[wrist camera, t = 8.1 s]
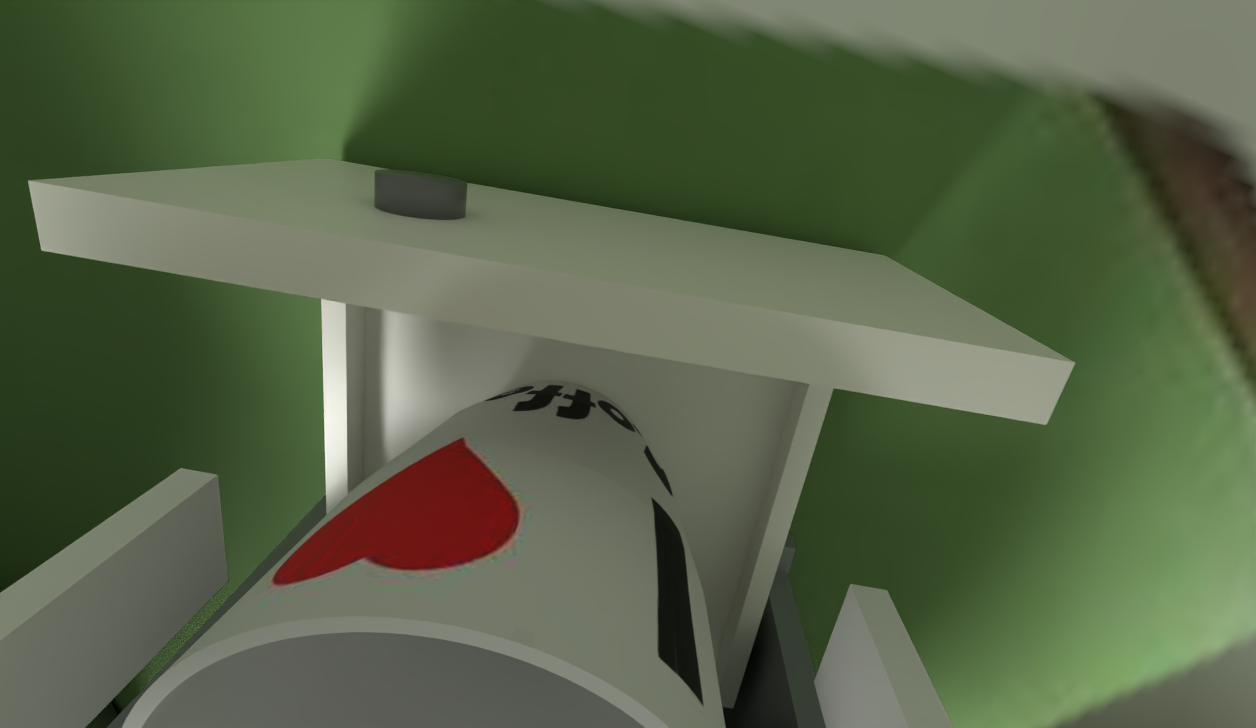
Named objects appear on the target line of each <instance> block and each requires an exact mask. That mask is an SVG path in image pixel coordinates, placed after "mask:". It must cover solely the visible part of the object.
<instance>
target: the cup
mask: <svg viewBox="0 0 1256 728" xmlns="http://www.w3.org/2000/svg"><path fill="white" fill-rule="evenodd" d="M122 728H726V727H725V721H724V714H723V708H722V702H721V696H720V690H719V683H718V677H717V671H716V665H715V659H714V652H713V646H712V640H711V634H710V627H709V621H708V615H707V609H706V603H705V598H704V593H703V589H702V586H701V583H700V579H699V576H698V573H697V570H696V567H695V563H694V560H693V557H692V554H691V551H690V547H689V544H688V541H687V538H686V535H685V531H684V528H683V525H682V522H681V519H680V515H679V512H678V509H677V506H676V503H675V499H674V496H673V493H672V490H671V487H670V484H669V481H668V479H667V476H666V474H665V472H664V470H663V468H662V466H661V465H660V463H659V461H658V460H657V458H656V457H655V455H654V454H653V452H652V450H651V449H650V447H649V446H648V444H647V443H646V441H645V440H644V438H643V437H642V435H641V434H640V432H639V430H638V429H637V427H636V426H635V424H634V423H633V421H632V420H631V419H630V418H629V416H628V415H627V414H626V413H625V412H624V411H623V410H622V409H621V408H620V407H619V406H618V405H617V404H615V403H614V402H613V401H611V400H610V399H608V398H607V397H605V396H604V395H602V394H600V393H598V392H596V391H594V390H591V389H589V388H586V387H583V386H580V385H576V384H572V383H566V382H538V383H532V384H528V385H524V386H521V387H519V388H516V389H513V390H511V391H508V392H505V393H503V394H500V395H497V396H495V397H492V398H490V399H487V400H484V401H482V402H479V403H476V404H474V405H472V406H469V407H467V408H465V409H463V410H462V411H460V412H458V413H457V414H455V415H453V416H452V417H451V418H449V419H448V420H447V421H445V422H444V423H442V424H441V425H440V426H438V427H437V428H436V429H434V430H433V431H431V432H430V433H429V434H427V435H426V436H425V437H423V438H422V439H420V440H419V441H418V442H416V443H415V444H414V445H412V446H411V447H410V448H408V449H407V450H405V451H404V452H403V453H401V454H400V455H399V456H397V457H396V458H394V459H393V460H392V461H390V462H389V463H388V464H386V465H385V466H384V467H382V468H381V469H379V470H378V471H377V472H375V473H374V474H373V475H371V476H370V477H368V478H367V479H366V480H364V481H363V482H362V483H360V484H359V485H358V486H357V487H355V488H354V489H353V490H352V491H351V492H350V493H349V494H348V495H347V496H346V497H345V498H344V499H342V500H341V501H340V502H339V503H338V504H337V505H336V506H335V507H334V508H333V509H332V510H331V511H330V512H329V513H328V514H327V515H326V516H325V517H324V518H323V519H322V520H321V521H320V522H319V523H318V524H317V525H316V526H315V527H314V528H313V529H312V530H311V531H310V532H309V533H307V534H306V535H305V536H304V537H303V538H302V539H301V540H300V541H299V542H298V543H297V544H296V545H295V546H294V547H293V548H292V549H291V550H290V551H289V552H288V553H287V554H286V555H285V556H284V557H283V558H282V559H281V560H280V561H279V562H278V563H277V564H276V565H275V566H274V567H272V568H271V569H270V570H269V571H268V572H267V573H266V574H265V575H264V576H263V577H262V578H261V579H260V580H259V581H258V582H257V583H256V584H255V585H254V586H253V587H252V588H251V589H250V590H249V591H248V592H247V593H246V594H245V595H244V596H243V597H242V598H241V599H240V600H239V601H237V602H236V603H235V604H234V605H233V606H232V607H231V608H230V609H229V610H228V611H227V612H226V613H225V614H224V615H223V616H222V617H221V618H220V619H219V620H218V621H217V622H216V623H215V624H214V625H213V626H212V627H211V628H210V629H209V630H208V631H207V632H206V633H205V634H204V635H202V636H201V637H200V638H199V639H198V640H197V641H196V642H195V643H194V644H193V645H192V646H191V647H190V648H189V649H188V650H187V651H186V652H185V653H184V654H183V655H182V656H181V657H180V658H179V659H178V660H177V661H176V662H175V663H174V664H173V665H172V666H171V667H170V668H169V669H168V670H166V671H165V672H164V673H163V674H162V675H161V676H160V677H159V678H158V679H157V680H156V681H155V682H154V683H153V684H152V685H151V686H150V687H149V688H148V689H147V690H146V691H145V693H144V694H143V695H142V696H141V697H140V699H139V700H138V701H137V703H136V704H135V705H134V707H133V708H132V710H131V711H130V713H129V715H128V717H127V718H126V720H125V722H124V724H123V726H122Z"/></svg>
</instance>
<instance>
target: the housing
mask: <svg viewBox="0 0 1256 728" xmlns="http://www.w3.org/2000/svg"><path fill="white" fill-rule="evenodd" d="M326 515H327V512H326V495H325V496H324V497H323V498H322V499H321V501H320V502H319V503H318V504H317V505H316V506H315V507H314V508H313V509H312V510H311V511H310V512H309V513H308V514H307V515H306V516H305V518H304V519H303V520H302V521H301V522H300V523H299V524H298V525H297V526H296V527H295V528H294V529H293V530H292V531H291V532H290V533H289V535H288V536H287V537H286V538H285V539H284V540H283V541H282V542H281V543H280V544H279V545H278V546H277V547H276V548H275V549H274V550H273V552H272V553H271V554H270V555H269V556H268V557H267V558H266V559H265V560H264V561H263V562H262V563H261V564H260V565H259V566H258V567H257V569H256V570H255V571H254V572H253V573H252V574H251V575H250V576H249V577H248V578H247V579H246V580H245V581H244V582H243V583H242V584H241V586H240V587H239V588H238V589H237V590H236V591H235V592H234V593H233V594H232V595H231V596H230V597H229V598H228V599H227V600H226V601H225V603H224V604H223V605H222V606H221V607H220V608H219V609H218V610H217V611H216V612H215V613H214V614H213V615H212V616H211V617H210V618H209V620H208V621H207V622H206V623H205V624H204V625H203V626H202V627H201V628H200V629H199V630H198V631H197V632H196V633H195V634H194V635H193V637H192V638H191V639H190V640H189V641H188V642H187V643H186V644H185V645H184V646H183V647H182V648H181V649H180V650H179V651H178V652H177V654H176V655H175V656H174V657H173V658H172V659H171V660H170V661H169V662H168V663H167V664H166V665H165V666H164V667H163V668H162V669H161V671H160V672H159V673H158V674H157V675H156V676H155V677H154V678H153V679H152V680H151V681H150V682H149V683H148V684H147V685H146V686H145V688H144V689H143V690H142V691H141V692H140V693H139V694H138V695H137V696H136V697H135V698H134V699H133V700H132V701H131V702H130V703H129V705H128V706H127V707H126V708H125V709H124V710H123V711H122V712H121V713H120V714H119V715H118V716H117V717H116V718H115V719H114V720H113V722H112V723H111V724H110V725H109V726H108V727H107V728H122V726H123V724H124V722H125V720H126V718H127V717H128V715H129V713H130V711H131V710H132V708H133V707H134V705H135V704H136V703H137V701H138V700H139V699H140V697H141V696H142V695H143V694H144V693H145V691H146V690H147V689H148V688H149V687H150V686H151V685H152V684H153V683H154V682H155V681H156V680H157V679H158V678H159V677H160V676H161V675H162V674H163V673H164V672H165V671H166V670H168V669H169V668H170V667H171V666H172V665H173V664H174V663H175V662H176V661H177V660H178V659H179V658H180V657H181V656H182V655H183V654H184V653H185V652H186V651H187V650H188V649H189V648H190V647H191V646H192V645H193V644H194V643H195V642H196V641H197V640H198V639H199V638H200V637H201V636H202V635H204V634H205V633H206V632H207V631H208V630H209V629H210V628H211V627H212V626H213V625H214V624H215V623H216V622H217V621H218V620H219V619H220V618H221V617H222V616H223V615H224V614H225V613H226V612H227V611H228V610H229V609H230V608H231V607H232V606H233V605H234V604H235V603H236V602H237V601H239V600H240V599H241V598H242V597H243V596H244V595H245V594H246V593H247V592H248V591H249V590H250V589H251V588H252V587H253V586H254V585H255V584H256V583H257V582H258V581H259V580H260V579H261V578H262V577H263V576H264V575H265V574H266V573H267V572H268V571H269V570H270V569H271V568H272V567H274V566H275V565H276V564H277V563H278V562H279V561H280V560H281V559H282V558H283V557H284V556H285V555H286V554H287V553H288V552H289V551H290V550H291V549H292V548H293V547H294V546H295V545H296V544H297V543H298V542H299V541H300V540H301V539H302V538H303V537H304V536H305V535H306V534H307V533H309V532H310V531H311V530H312V529H313V528H314V527H315V526H316V525H317V524H318V523H319V522H320V521H321V520H322V519H323V518H324V517H325V516H326ZM795 551H796V547H795V543H794V540H793V537H792V534H791V533H788V536H787V539H786V542H785V545H784V548H783V552H782V555H781V558H780V561H779V564H778V567H777V571H776V574H775V577H774V580H773V583H772V587H771V590H770V593H769V596H768V599H767V603H766V606H765V609H764V612H763V615H762V618H761V622H760V625H759V628H758V631H757V634H756V638H755V641H754V644H753V647H752V650H751V654H750V657H749V660H748V663H747V666H746V669H745V673H744V676H743V679H742V682H741V685H740V689H739V692H738V695H737V698H736V701H735V705H734V708H733V709H732V708H727V707H722V708H723V714H724V721H725V727H726V728H826V726H825V722H824V718H823V714H822V711H821V707H820V703H819V699H818V696H817V692H816V688H815V685H814V680H815V677H816V674H815V670H814V667H813V663H812V659H811V656H810V652H809V648H808V645H807V641H806V638H805V634H804V630H803V627H802V623H801V619H800V616H799V612H798V608H797V605H796V601H795V598H794V594H793V590H792V587H791V583H790V579H789V576H788V573H789V570H790V567H791V564H792V561H793V557H794V554H795Z"/></svg>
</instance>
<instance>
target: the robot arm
mask: <svg viewBox="0 0 1256 728" xmlns="http://www.w3.org/2000/svg"><path fill="white" fill-rule="evenodd" d="M227 582H228V571H227V561H226V551H225V541H224V531H223V521H222V511H221V501H220V491H219V481H218V474H212V473H206V472H200V471H194V470H189V469H183V468H180V469H179V470H177V471H176V472H175V473H173V474H172V475H170V476H169V477H167V478H166V479H164V480H163V481H162V482H160V483H159V484H157V485H156V486H154V487H153V488H151V489H150V490H148V491H147V492H146V493H144V494H143V495H141V496H140V497H138V498H137V499H135V500H134V501H133V502H131V503H130V504H128V505H127V506H125V507H124V508H122V509H121V510H120V511H118V512H117V513H115V514H114V515H112V516H111V517H109V518H108V519H106V520H105V521H104V522H102V523H101V524H99V525H98V526H96V527H95V528H93V529H92V530H91V531H89V532H88V533H86V534H85V535H83V536H82V537H80V538H79V539H78V540H76V541H75V542H73V543H72V544H70V545H69V546H67V547H66V548H65V549H63V550H62V551H60V552H59V553H57V554H56V555H54V556H53V557H51V558H50V559H49V560H47V561H46V562H44V563H43V564H41V565H40V566H38V567H37V568H36V569H34V570H33V571H31V572H30V573H28V574H27V575H25V576H24V577H23V578H21V579H20V580H18V581H17V582H15V583H14V584H12V585H11V586H9V587H8V588H7V589H5V590H4V591H2V592H1V593H0V728H107V727H108V726H109V725H110V724H111V723H112V722H113V720H114V719H115V718H116V717H117V716H118V714H117V712H116V710H115V709H114V707H113V705H112V704H111V701H112V700H113V699H114V698H115V697H116V696H117V695H118V694H119V693H120V691H121V690H122V689H123V688H124V687H125V686H126V685H127V684H128V683H129V682H130V681H131V680H132V679H133V678H134V677H135V676H136V675H137V674H138V673H139V672H140V671H141V670H142V669H143V668H144V667H145V666H146V665H147V664H148V663H149V662H150V661H151V660H152V659H153V658H154V657H155V656H156V655H157V654H158V653H159V652H160V651H161V650H162V649H163V647H164V646H165V645H166V644H167V643H168V642H169V641H170V640H171V639H172V638H173V637H174V636H175V635H176V634H177V633H178V632H179V631H180V630H181V629H182V628H183V627H184V626H185V625H186V624H187V623H188V622H189V621H190V620H191V619H192V618H193V617H194V616H195V615H196V614H197V613H198V612H199V611H200V610H201V609H202V608H203V607H204V606H205V605H206V603H207V602H208V601H209V600H210V599H211V598H212V597H213V596H214V595H215V594H216V593H217V592H218V591H219V590H220V589H221V588H222V587H223V586H224V585H225V584H226V583H227ZM814 685H815V688H816V692H817V696H818V699H819V703H820V707H821V711H822V714H823V718H824V722H825V726H826V728H953V726H952V724H951V722H950V720H949V718H948V715H947V713H946V711H945V709H944V707H943V705H942V703H941V701H940V699H939V697H938V695H937V693H936V691H935V688H934V686H933V684H932V682H931V680H930V678H929V676H928V674H927V672H926V670H925V668H924V666H923V664H922V662H921V659H920V657H919V655H918V653H917V651H916V649H915V647H914V645H913V643H912V641H911V639H910V637H909V635H908V632H907V630H906V628H905V626H904V624H903V622H902V620H901V618H900V616H899V614H898V612H897V610H896V608H895V605H894V603H893V601H892V599H891V597H890V595H889V593H888V591H887V590H883V589H877V588H871V587H866V586H860V585H854V584H850V586H849V589H848V592H847V594H846V597H845V600H844V602H843V605H842V608H841V610H840V613H839V616H838V618H837V621H836V624H835V626H834V629H833V632H832V634H831V637H830V640H829V642H828V645H827V648H826V650H825V653H824V656H823V659H822V661H821V664H820V667H819V669H818V672H817V675H816V677H815V680H814Z"/></svg>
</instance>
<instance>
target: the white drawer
mask: <svg viewBox="0 0 1256 728" xmlns="http://www.w3.org/2000/svg"><path fill="white" fill-rule="evenodd" d="M28 184H29V189H30V194H31V199H32V205H33V210H34V215H35V220H36V225H37V230H38V235H39V241H40V246H41V251H47V252H53V253H58V254H64V255H70V256H76V257H81V258H87V259H93V260H99V261H104V262H110V263H116V264H122V265H128V266H133V267H139V268H145V269H151V270H156V271H162V272H168V273H174V274H179V275H185V276H191V277H197V278H202V279H208V280H214V281H220V282H225V283H231V284H237V285H243V286H248V287H254V288H260V289H266V290H272V291H277V292H283V293H289V294H295V295H300V296H306V297H312V298H318V299H321V308H322V349H323V390H324V430H325V471H326V512H327V514H328V513H329V512H330V511H331V510H332V509H333V508H334V507H335V506H336V505H337V504H338V503H339V502H340V501H341V500H342V499H344V498H345V497H346V496H347V495H348V494H349V493H350V492H351V491H352V490H353V489H354V488H355V487H357V486H358V485H359V484H360V483H362V482H363V481H364V480H366V479H367V478H368V477H370V476H371V475H373V474H374V473H375V472H377V471H378V470H379V469H381V468H382V467H384V466H385V465H386V464H388V463H389V462H390V461H392V460H393V459H394V458H396V457H397V456H399V455H400V454H401V453H403V452H404V451H405V450H407V449H408V448H410V447H411V446H412V445H414V444H415V443H416V442H418V441H419V440H420V439H422V438H423V437H425V436H426V435H427V434H429V433H430V432H431V431H433V430H434V429H436V428H437V427H438V426H440V425H441V424H442V423H444V422H445V421H447V420H448V419H449V418H451V417H452V416H453V415H455V414H457V413H458V412H460V411H462V410H463V409H465V408H467V407H469V406H472V405H474V404H476V403H479V402H482V401H484V400H487V399H490V398H492V397H495V396H497V395H500V394H503V393H505V392H508V391H511V390H513V389H516V388H519V387H521V386H524V385H528V384H532V383H538V382H566V383H572V384H576V385H580V386H583V387H586V388H589V389H591V390H594V391H596V392H598V393H600V394H602V395H604V396H605V397H607V398H608V399H610V400H611V401H613V402H614V403H615V404H617V405H618V406H619V407H620V408H621V409H622V410H623V411H624V412H625V413H626V414H627V415H628V416H629V418H630V419H631V420H632V421H633V423H634V424H635V426H636V427H637V429H638V430H639V432H640V434H641V435H642V437H643V438H644V440H645V441H646V443H647V444H648V446H649V447H650V449H651V450H652V452H653V454H654V455H655V457H656V458H657V460H658V461H659V463H660V465H661V466H662V468H663V470H664V472H665V474H666V476H667V479H668V481H669V484H670V487H671V490H672V493H673V496H674V499H675V503H676V506H677V509H678V512H679V515H680V519H681V522H682V525H683V528H684V531H685V535H686V538H687V541H688V544H689V547H690V551H691V554H692V557H693V560H694V563H695V567H696V570H697V573H698V576H699V579H700V583H701V586H702V589H703V593H704V598H705V603H706V609H707V615H708V621H709V627H710V634H711V640H712V646H713V652H714V659H715V665H716V671H717V677H718V683H719V690H720V696H721V702H722V707H727V708H732V709H733V708H734V705H735V701H736V698H737V695H738V692H739V689H740V685H741V682H742V679H743V676H744V673H745V669H746V666H747V663H748V660H749V657H750V654H751V650H752V647H753V644H754V641H755V638H756V634H757V631H758V628H759V625H760V622H761V618H762V615H763V612H764V609H765V606H766V603H767V599H768V596H769V593H770V590H771V587H772V583H773V580H774V577H775V574H776V571H777V567H778V564H779V561H780V558H781V555H782V552H783V548H784V545H785V542H786V539H787V536H788V532H789V529H790V526H791V523H792V520H793V516H794V513H795V510H796V507H797V504H798V501H799V497H800V494H801V491H802V488H803V485H804V481H805V478H806V475H807V472H808V469H809V465H810V462H811V459H812V456H813V453H814V450H815V446H816V443H817V440H818V437H819V434H820V430H821V427H822V424H823V421H824V418H825V414H826V411H827V408H828V405H829V402H830V398H831V395H832V392H833V389H834V388H836V389H842V390H847V391H853V392H859V393H865V394H870V395H876V396H882V397H888V398H894V399H899V400H905V401H911V402H917V403H922V404H928V405H934V406H940V407H945V408H951V409H957V410H963V411H968V412H974V413H980V414H986V415H991V416H997V417H1003V418H1009V419H1014V420H1020V421H1026V422H1032V423H1037V424H1043V425H1047V423H1048V421H1049V418H1050V416H1051V414H1052V412H1053V410H1054V408H1055V406H1056V403H1057V401H1058V399H1059V397H1060V395H1061V393H1062V391H1063V388H1064V386H1065V384H1066V382H1067V380H1068V378H1069V376H1070V373H1071V371H1072V369H1073V367H1074V365H1075V362H1073V361H1072V360H1070V359H1068V358H1066V357H1064V356H1063V355H1061V354H1059V353H1057V352H1056V351H1054V350H1052V349H1050V348H1048V347H1047V346H1045V345H1043V344H1041V343H1040V342H1038V341H1036V340H1034V339H1032V338H1031V337H1029V336H1027V335H1025V334H1024V333H1022V332H1020V331H1018V330H1017V329H1015V328H1013V327H1011V326H1009V325H1008V324H1006V323H1004V322H1002V321H1001V320H999V319H997V318H995V317H993V316H992V315H990V314H988V313H986V312H985V311H983V310H981V309H979V308H977V307H976V306H974V305H972V304H970V303H969V302H967V301H965V300H963V299H961V298H960V297H958V296H956V295H954V294H953V293H951V292H949V291H947V290H945V289H944V288H942V287H940V286H938V285H937V284H935V283H933V282H931V281H929V280H928V279H926V278H924V277H922V276H921V275H919V274H917V273H915V272H913V271H912V270H910V269H908V268H906V267H905V266H903V265H901V264H899V263H897V262H896V261H894V260H892V259H890V258H889V257H887V256H885V255H879V254H874V253H868V252H862V251H856V250H851V249H845V248H839V247H833V246H828V245H822V244H816V243H811V242H805V241H799V240H793V239H788V238H782V237H776V236H770V235H765V234H759V233H753V232H747V231H742V230H736V229H730V228H724V227H719V226H713V225H707V224H701V223H696V222H690V221H684V220H678V219H673V218H667V217H661V216H656V215H650V214H644V213H638V212H633V211H627V210H621V209H615V208H610V207H604V206H598V205H592V204H587V203H581V202H575V201H569V200H564V199H558V198H552V197H546V196H541V195H535V194H529V193H523V192H518V191H512V190H506V189H501V188H495V187H489V186H483V185H478V184H472V183H467V182H465V181H463V180H460V179H457V178H453V177H448V176H443V175H438V174H432V173H425V172H417V171H408V170H393V169H386V168H380V167H374V166H368V165H363V164H357V163H351V162H346V161H340V160H334V159H328V158H322V159H308V160H295V161H282V162H268V163H255V164H242V165H228V166H215V167H201V168H188V169H175V170H161V171H148V172H135V173H121V174H108V175H95V176H81V177H68V178H55V179H41V180H28Z"/></svg>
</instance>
